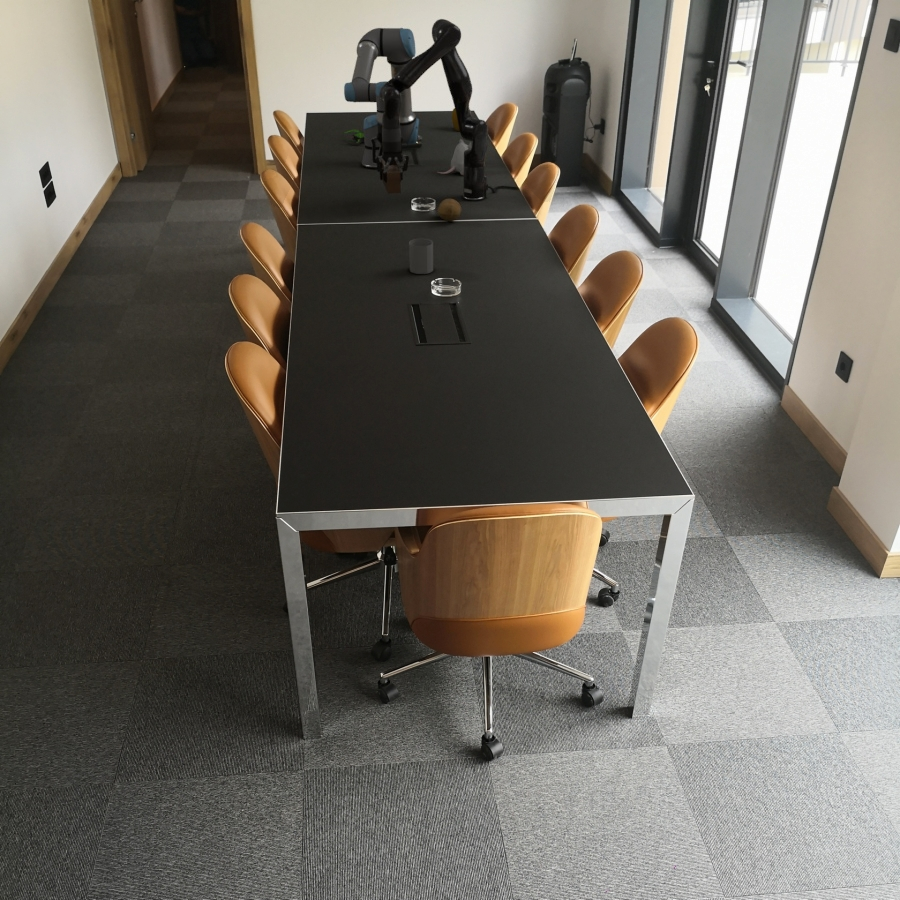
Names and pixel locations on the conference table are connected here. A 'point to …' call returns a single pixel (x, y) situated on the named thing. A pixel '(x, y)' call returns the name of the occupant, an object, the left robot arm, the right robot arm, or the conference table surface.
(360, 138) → the green dinosaur figurine
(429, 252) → the cup
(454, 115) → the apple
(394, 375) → the conference table surface
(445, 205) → the potato
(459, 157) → the toy
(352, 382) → the conference table surface
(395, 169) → the bar
